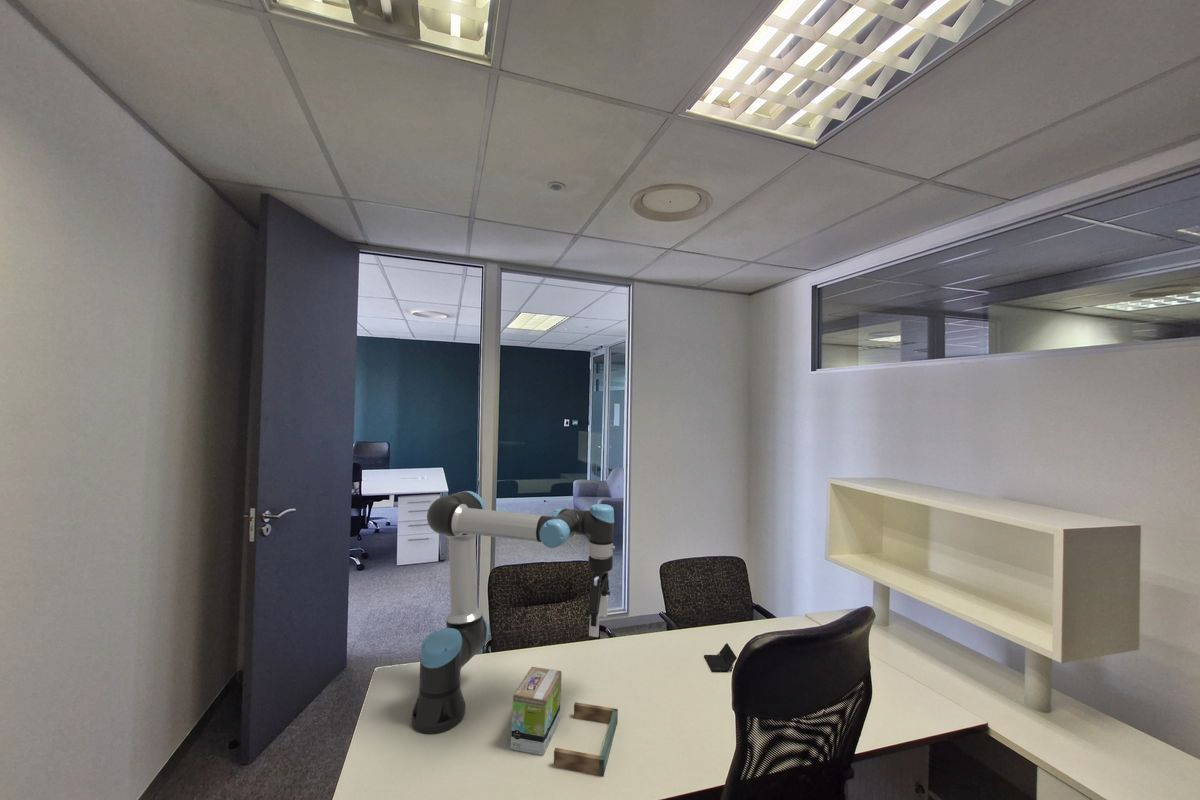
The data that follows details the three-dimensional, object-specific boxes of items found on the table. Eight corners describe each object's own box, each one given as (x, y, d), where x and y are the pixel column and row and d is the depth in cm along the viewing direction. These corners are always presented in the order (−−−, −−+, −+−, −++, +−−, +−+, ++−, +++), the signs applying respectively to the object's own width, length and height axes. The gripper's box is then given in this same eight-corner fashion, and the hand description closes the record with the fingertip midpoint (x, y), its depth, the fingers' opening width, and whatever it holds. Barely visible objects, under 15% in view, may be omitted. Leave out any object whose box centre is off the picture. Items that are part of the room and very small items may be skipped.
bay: (553, 767, 114) (554, 750, 115) (574, 715, 135) (575, 702, 135) (603, 776, 112) (603, 760, 112) (617, 722, 132) (617, 709, 132)
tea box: (544, 756, 118) (546, 699, 119) (509, 750, 120) (511, 694, 121) (560, 720, 133) (562, 669, 133) (529, 714, 135) (530, 664, 135)
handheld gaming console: (698, 653, 170) (715, 632, 170) (711, 662, 171) (727, 642, 172) (711, 674, 159) (729, 652, 159) (725, 684, 160) (742, 662, 161)
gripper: (605, 569, 124) (602, 647, 123) (619, 545, 149) (617, 610, 148) (579, 567, 126) (576, 643, 125) (597, 543, 150) (595, 607, 149)
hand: (598, 625), depth 136 cm, fingers open, 13 cm apart
